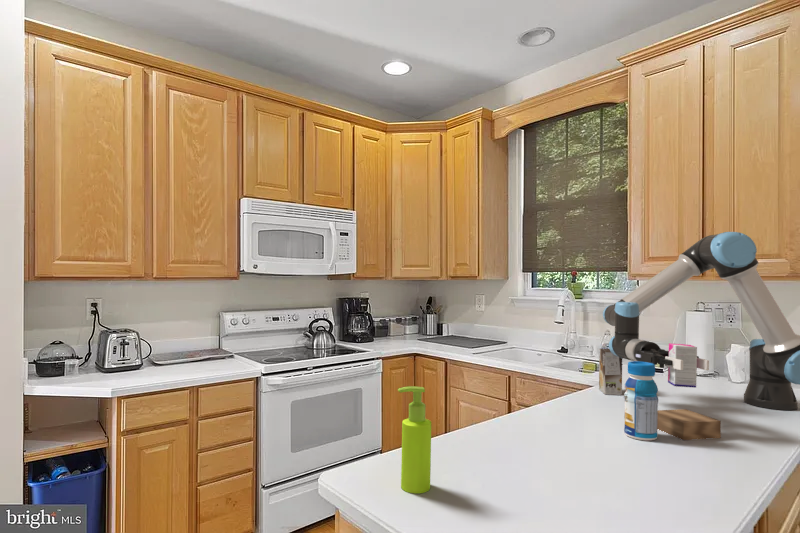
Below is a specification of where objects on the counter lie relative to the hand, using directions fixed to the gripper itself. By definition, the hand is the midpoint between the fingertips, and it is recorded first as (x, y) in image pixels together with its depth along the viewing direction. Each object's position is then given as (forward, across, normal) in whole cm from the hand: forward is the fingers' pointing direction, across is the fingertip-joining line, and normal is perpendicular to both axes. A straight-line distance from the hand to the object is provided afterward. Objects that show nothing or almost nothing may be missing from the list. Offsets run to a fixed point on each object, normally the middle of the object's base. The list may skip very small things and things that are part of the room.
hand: (694, 365), depth 133 cm
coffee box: (-52, -5, -20) cm, 56 cm away
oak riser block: (-4, 0, -20) cm, 20 cm away
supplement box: (-5, 0, -7) cm, 8 cm away
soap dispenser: (+26, +82, -20) cm, 88 cm away
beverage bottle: (-1, +15, -20) cm, 25 cm away
